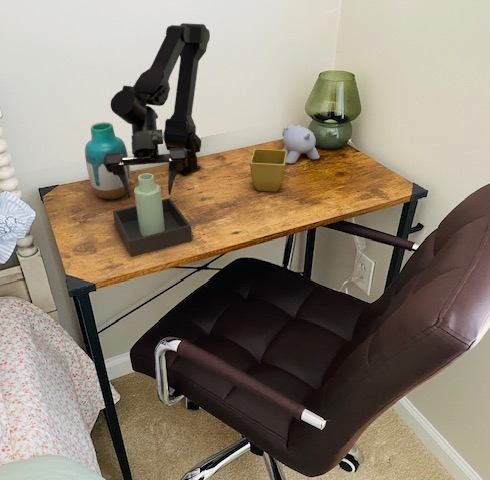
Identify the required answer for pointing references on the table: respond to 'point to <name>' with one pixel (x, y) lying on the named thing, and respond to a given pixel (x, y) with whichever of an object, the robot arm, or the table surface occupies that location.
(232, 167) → the table surface
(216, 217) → the table surface
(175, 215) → the bin
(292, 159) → the hippopotamus toy
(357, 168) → the table surface
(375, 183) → the table surface
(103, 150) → the vase
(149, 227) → the bottle
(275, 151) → the flower pot
